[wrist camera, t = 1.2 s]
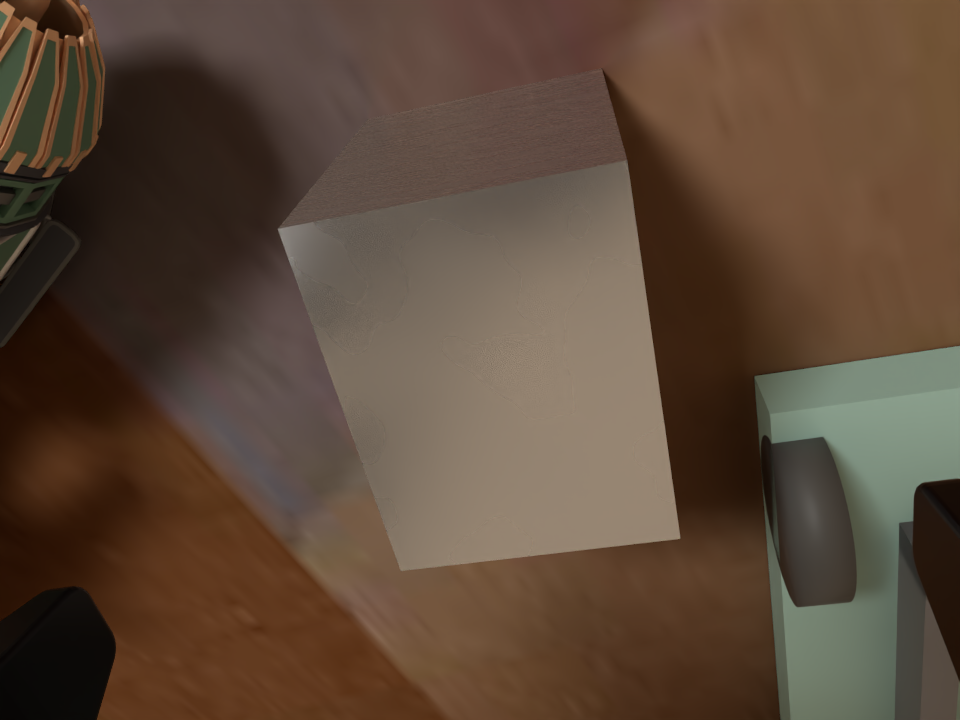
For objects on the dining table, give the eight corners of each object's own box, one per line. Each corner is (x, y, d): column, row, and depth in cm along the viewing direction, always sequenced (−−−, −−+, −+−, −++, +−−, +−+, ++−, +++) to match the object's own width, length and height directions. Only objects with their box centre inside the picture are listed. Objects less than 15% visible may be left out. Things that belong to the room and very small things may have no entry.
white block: (643, 350, 18) (680, 538, 13) (443, 381, 19) (400, 571, 13) (601, 68, 15) (627, 160, 10) (368, 118, 16) (277, 229, 11)
